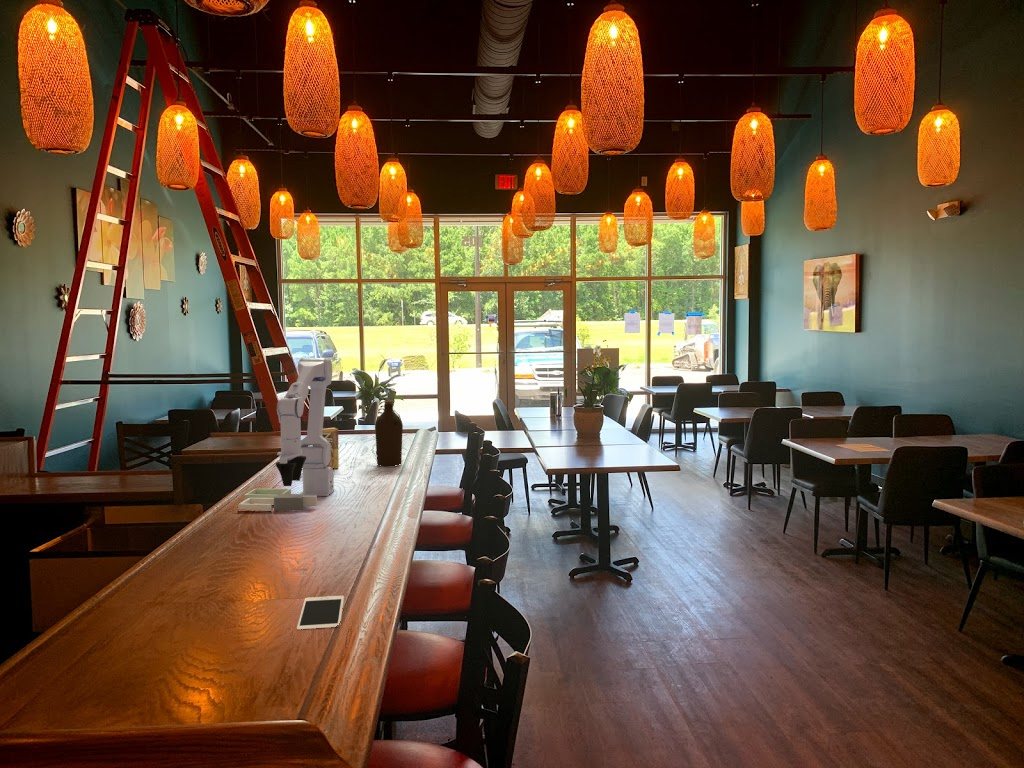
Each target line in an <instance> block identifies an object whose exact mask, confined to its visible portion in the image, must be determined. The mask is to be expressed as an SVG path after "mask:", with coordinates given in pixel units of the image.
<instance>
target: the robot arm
mask: <svg viewBox="0 0 1024 768" xmlns="http://www.w3.org/2000/svg"><path fill="white" fill-rule="evenodd" d="M297 372H298V376H297V379H296V381H295V382H293V383H291V385H290V386H289V388H288V390H287V392H286V393H285V395H284V397H281V398H280V399H278V401H277V404H276V413H277V417H278V423H279V424H280V451H278V452H277V454H276V455H277V456H279V461H276V462H275V466H276V468H277V469H278V472H279V474H280V478H281V483H282V486H283V487H291V486H292V485H293V482H294V481H295V482H297V481H298V482H299V481H300V480H301V476H302V491H301V492H300V493H299V494H305V496H317V497H328V496H330V495H331V494H332V493H333V492H335V487H334V486H335V485H334V482H335V481H334V479H335V478H334V469H333V468H332V467H327V465H328V464H329V462H330V459H331V451H330V443H329V442H328V441H327V440H326V439H325V438H324V437H323V436H322V433H323V429H324V417H325V405H326V392H327V387H328V386H329V385H331V384H332V379H333V363H332V360H331V359H330V358H329V357H326V358H320V357H318V358H315V357H312V358H309V357H307V358H306V357H301V358H300V359H299V360H298V363H297ZM309 388H310V390H309ZM309 392H310V393H309ZM309 394H310V395H309ZM308 395H309V405H308V420H307V430H306V431H307V432H306V436H305V437H303V438H302V435H301V434H302V433H301V431H302V430H301V428H302V427H301V424H302V423H301V417H302V416H303V414H304V408H305V401H306V399H307V397H308ZM329 494H330V495H329Z"/></svg>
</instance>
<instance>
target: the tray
mask: <svg viewBox="0 0 1024 768" xmlns="http://www.w3.org/2000/svg"><path fill="white" fill-rule="evenodd" d="M278 494H292V489H291V488H253V489H252V490H250V491H248V492H246V493H245V494H243V499H244V500H246V499H248V498H274V497H276V496H277V495H278ZM244 500H243V501H244Z"/></svg>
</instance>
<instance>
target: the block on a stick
mask: <svg viewBox="0 0 1024 768" xmlns="http://www.w3.org/2000/svg"><path fill="white" fill-rule="evenodd" d="M305 506H306V507H317V506H318V496H305V494H300V493H291V494H278V495H277V496H276V497H274V506H273V510H301V511H302V510H303V509H305V508H306V507H305ZM304 507H305V508H304Z"/></svg>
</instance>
